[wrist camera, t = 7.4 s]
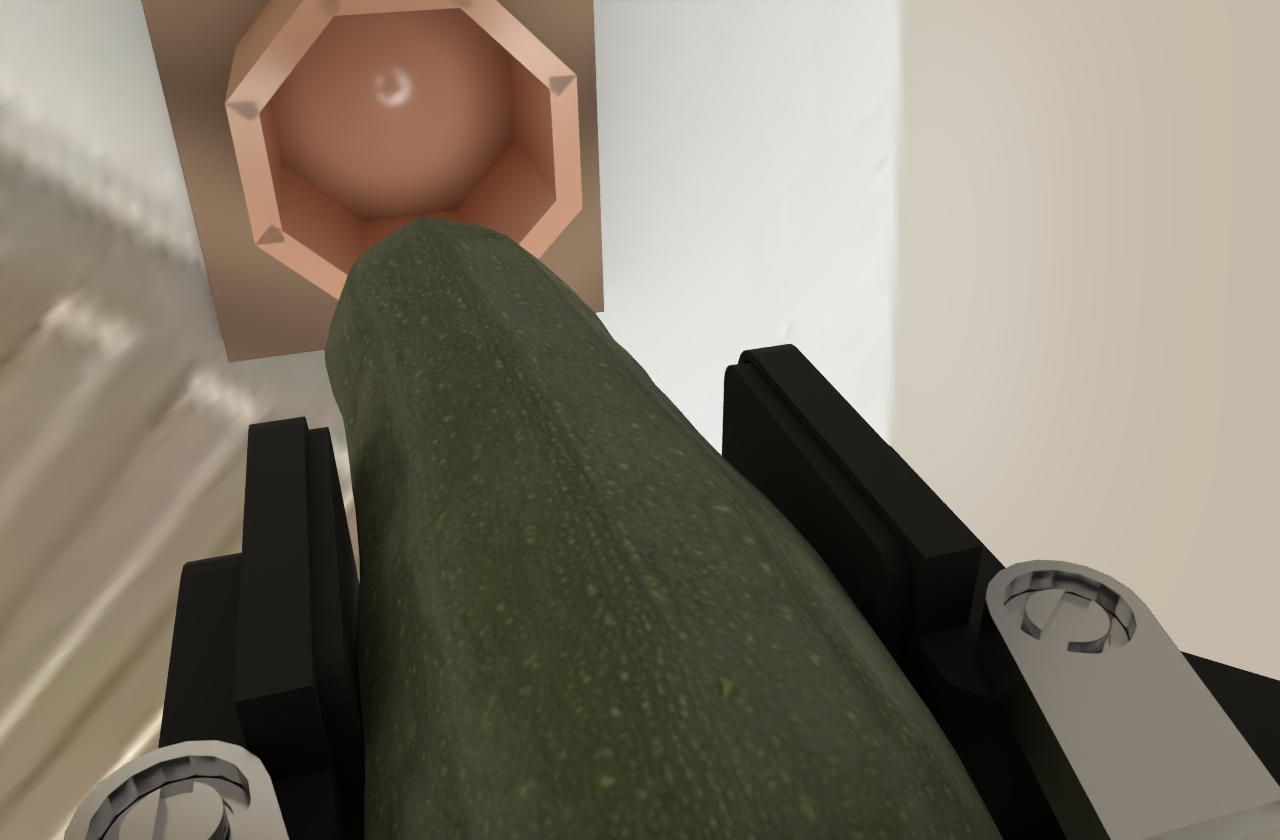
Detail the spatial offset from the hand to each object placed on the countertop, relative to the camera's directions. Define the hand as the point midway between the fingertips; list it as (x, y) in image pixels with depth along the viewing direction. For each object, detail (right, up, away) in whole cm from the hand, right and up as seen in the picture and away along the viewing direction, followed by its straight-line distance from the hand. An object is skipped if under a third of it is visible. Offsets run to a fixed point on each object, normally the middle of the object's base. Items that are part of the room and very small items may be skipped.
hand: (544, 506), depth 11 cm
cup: (-5, +9, +16) cm, 19 cm away
